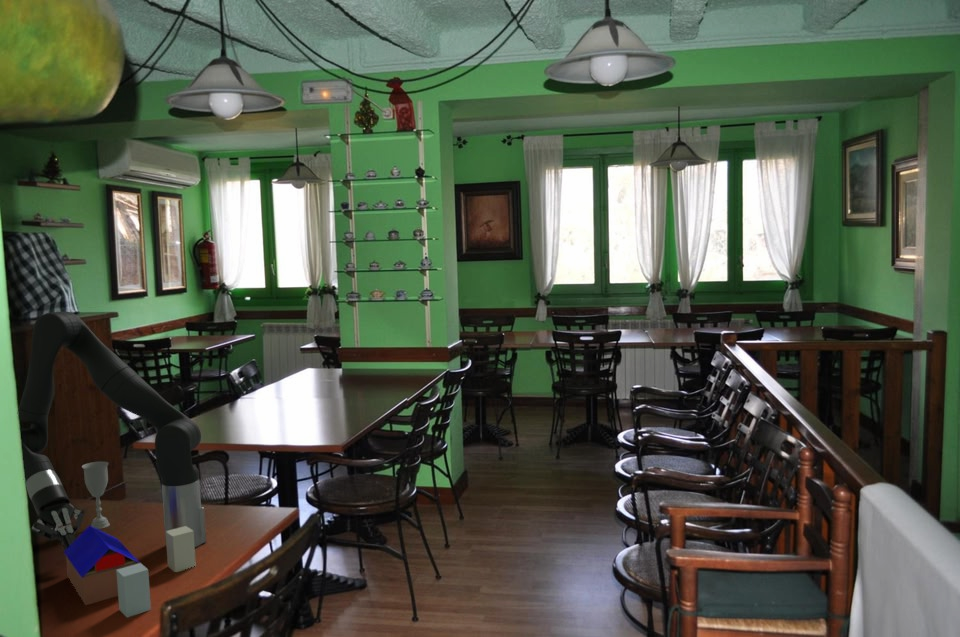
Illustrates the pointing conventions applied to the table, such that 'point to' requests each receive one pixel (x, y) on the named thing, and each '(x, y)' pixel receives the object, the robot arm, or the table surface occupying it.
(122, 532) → the table surface
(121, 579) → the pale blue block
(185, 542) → the cream block
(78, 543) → the house
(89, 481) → the chalice
